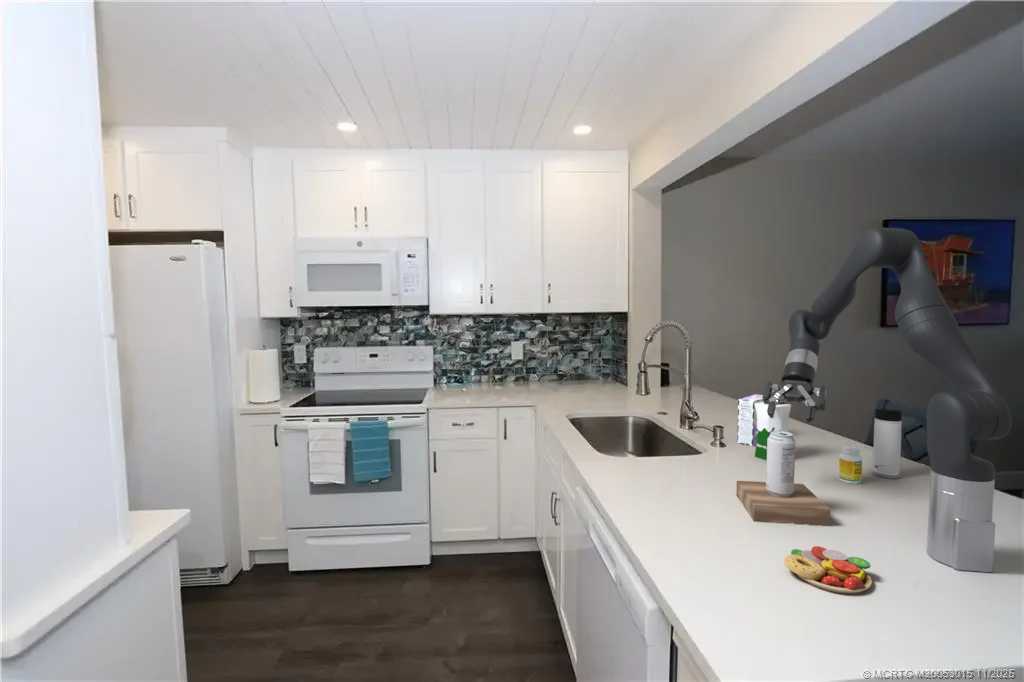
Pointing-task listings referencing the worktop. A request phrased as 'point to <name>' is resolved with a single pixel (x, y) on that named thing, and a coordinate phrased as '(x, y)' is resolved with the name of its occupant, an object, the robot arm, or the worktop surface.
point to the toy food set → (830, 570)
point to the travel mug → (887, 443)
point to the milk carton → (770, 425)
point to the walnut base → (782, 505)
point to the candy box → (748, 419)
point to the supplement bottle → (850, 465)
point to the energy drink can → (780, 463)
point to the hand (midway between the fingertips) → (789, 418)
